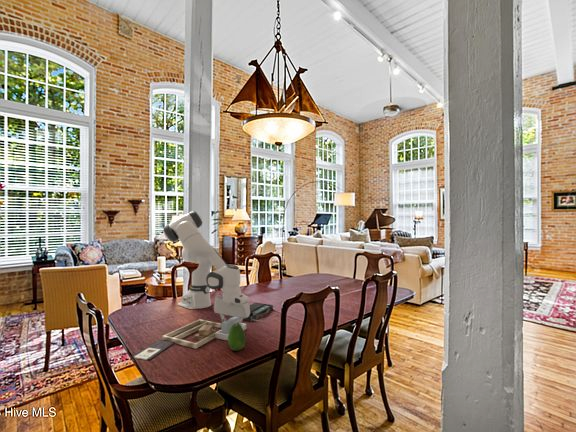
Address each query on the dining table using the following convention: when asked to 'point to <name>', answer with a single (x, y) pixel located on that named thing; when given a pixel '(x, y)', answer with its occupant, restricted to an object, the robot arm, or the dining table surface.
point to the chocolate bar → (153, 350)
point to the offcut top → (205, 330)
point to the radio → (258, 311)
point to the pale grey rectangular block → (228, 324)
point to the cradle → (225, 336)
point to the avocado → (236, 337)
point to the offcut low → (200, 337)
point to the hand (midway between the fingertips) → (231, 323)
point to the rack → (186, 343)
